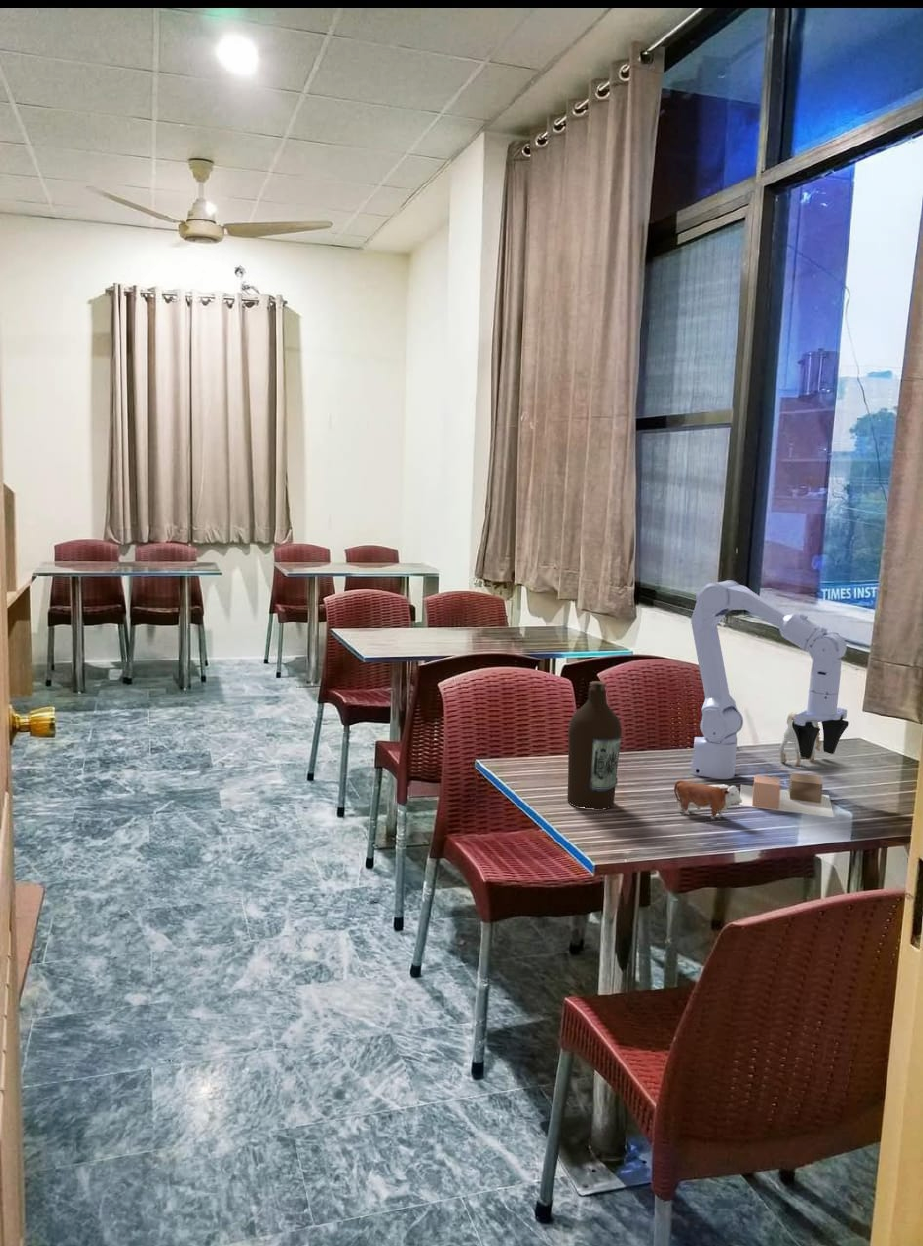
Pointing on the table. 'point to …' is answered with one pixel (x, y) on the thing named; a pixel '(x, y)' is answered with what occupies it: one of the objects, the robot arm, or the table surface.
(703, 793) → the bull figurine
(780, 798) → the base plate
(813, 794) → the walnut block
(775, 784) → the terracotta block
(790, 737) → the unicorn figurine
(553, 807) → the table surface
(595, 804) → the brown bottle
